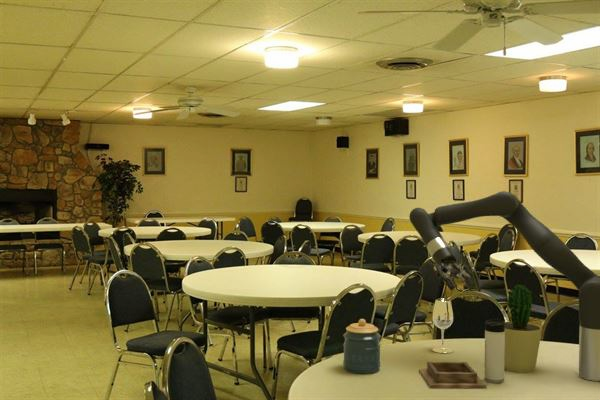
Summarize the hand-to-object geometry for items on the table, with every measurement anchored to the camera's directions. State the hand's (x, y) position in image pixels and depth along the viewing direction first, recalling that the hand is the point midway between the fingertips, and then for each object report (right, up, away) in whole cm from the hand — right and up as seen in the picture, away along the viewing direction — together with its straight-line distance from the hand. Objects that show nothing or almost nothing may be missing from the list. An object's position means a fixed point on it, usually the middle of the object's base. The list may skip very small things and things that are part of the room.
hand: (462, 288), depth 222 cm
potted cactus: (+20, -29, +3) cm, 35 cm away
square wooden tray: (-7, -29, -12) cm, 32 cm away
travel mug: (+7, -29, -12) cm, 32 cm away
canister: (-36, -28, -1) cm, 46 cm away
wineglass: (-2, -28, +25) cm, 37 cm away
